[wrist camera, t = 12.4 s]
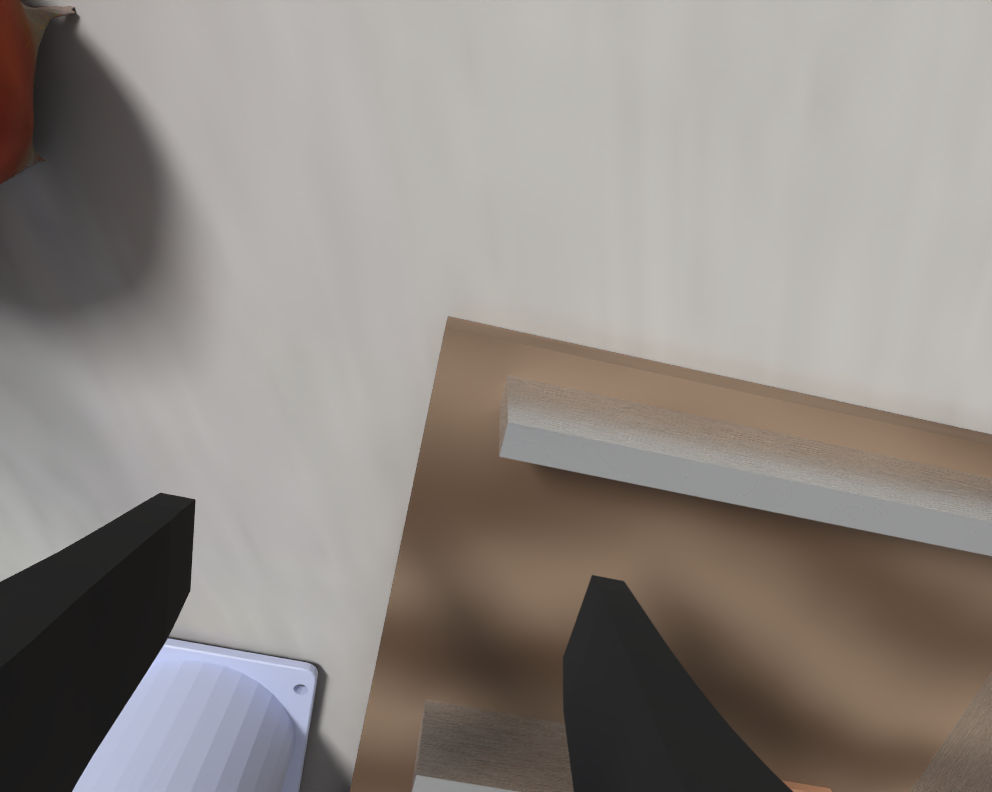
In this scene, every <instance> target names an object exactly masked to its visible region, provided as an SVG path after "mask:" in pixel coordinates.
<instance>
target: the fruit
mask: <svg viewBox="0 0 992 792" xmlns="http://www.w3.org/2000/svg"><path fill="white" fill-rule="evenodd" d="M72 8H74V7H71V6H67V7H57V6H54V7H36V8H34V7H29V6H27V5H25V4H23V3H22V2H21V1H20V0H0V184H1V183H3V182H5V181H6V180H8V179H10V178H12V177H14V176H15V175H17V174H18V173H20V172H22V171H23V170H24V169H26V168H27V167H30V166H32V165H34V164H35V163H36V162H38V161H45V160H44V159H42V158H41V157H40V156H39V155H38V154H37V153H36V151H35V149H34V148H33V129H34V109H33V87H34V75H35V67H36V61H37V54H38V48H39V45H40V43H41V40H42V38H43V35H44V32H45V30H46V27H47V25H48V23H49V21H50V19H51V18H55V17H59V16H64V15H69V14H74V13H75V12H74V11H73V10H72Z"/></svg>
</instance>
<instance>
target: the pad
mask: <svg viewBox="0 0 992 792" xmlns="http://www.w3.org/2000/svg"><path fill="white" fill-rule="evenodd" d="M781 781H782V780H781ZM782 782H784V783H785V784H786V785H787V786H788V787H789V788H790V789H791V790H792V791H793V792H832V791H831V789H830V788H824V787H818V786H812V785H806V784H800V783H794V782H788V781H782Z"/></svg>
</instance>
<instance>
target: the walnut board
mask: <svg viewBox="0 0 992 792" xmlns="http://www.w3.org/2000/svg"><path fill="white" fill-rule="evenodd" d="M507 375H510V376H515V377H520V378H524V379H529V380H534V381H538V382H543V383H548V384H552V385H557V386H562V387H567V388H571V389H576V390H581V391H585V392H590V393H595V394H600V395H604V396H609V397H614V398H618V399H623V400H628V401H633V402H637V403H642V404H647V405H651V406H656V407H661V408H666V409H670V410H675V411H680V412H684V413H689V414H694V415H699V416H703V417H708V418H713V419H717V420H722V421H727V422H732V423H736V424H741V425H746V426H750V427H755V428H760V429H765V430H769V431H774V432H779V433H783V434H788V435H793V436H797V437H802V438H807V439H812V440H816V441H821V442H826V443H830V444H835V445H840V446H845V447H849V448H854V449H859V450H863V451H868V452H873V453H878V454H882V455H887V456H892V457H896V458H901V459H906V460H911V461H915V462H920V463H925V464H929V465H934V466H939V467H944V468H948V469H953V470H958V471H962V472H967V473H972V474H977V475H981V476H986V477H991V478H992V435H991V434H986V433H981V432H977V431H972V430H968V429H963V428H958V427H954V426H949V425H945V424H940V423H935V422H931V421H926V420H922V419H917V418H913V417H908V416H903V415H899V414H894V413H890V412H885V411H880V410H876V409H871V408H867V407H862V406H857V405H853V404H848V403H844V402H839V401H834V400H830V399H825V398H821V397H816V396H811V395H807V394H802V393H798V392H793V391H788V390H784V389H779V388H775V387H770V386H766V385H761V384H756V383H752V382H747V381H743V380H738V379H733V378H729V377H724V376H720V375H715V374H710V373H706V372H701V371H697V370H692V369H687V368H683V367H678V366H674V365H669V364H664V363H660V362H655V361H651V360H646V359H642V358H637V357H632V356H628V355H623V354H619V353H614V352H609V351H605V350H600V349H596V348H591V347H586V346H582V345H577V344H573V343H568V342H563V341H559V340H554V339H550V338H545V337H540V336H536V335H531V334H527V333H522V332H518V331H513V330H508V329H504V328H499V327H495V326H490V325H485V324H481V323H476V322H472V321H467V320H462V319H458V318H453V317H449V316H448V318H447V323H446V327H445V332H444V337H443V342H442V346H441V351H440V356H439V361H438V366H437V371H436V376H435V380H434V385H433V390H432V395H431V400H430V405H429V409H428V414H427V419H426V424H425V429H424V434H423V439H422V443H421V448H420V453H419V458H418V463H417V468H416V473H415V477H414V482H413V487H412V492H411V497H410V502H409V507H408V511H407V516H406V521H405V526H404V531H403V536H402V540H401V545H400V550H399V555H398V560H397V565H396V570H395V574H394V579H393V584H392V589H391V594H390V599H389V604H388V608H387V613H386V618H385V623H384V628H383V633H382V637H381V642H380V647H379V652H378V657H377V662H376V667H375V671H374V676H373V681H372V686H371V691H370V696H369V701H368V705H367V710H366V715H365V720H364V725H363V730H362V735H361V739H360V744H359V749H358V754H357V759H356V764H355V768H354V773H353V778H352V783H351V788H350V792H411V791H412V783H413V775H414V768H415V760H416V752H417V744H418V736H419V729H420V721H421V716H422V712H423V708H424V704H425V700H430V701H435V702H441V703H447V704H453V705H459V706H465V707H470V708H476V709H482V710H488V711H494V712H500V713H505V714H511V715H517V716H523V717H529V718H535V719H540V720H546V721H552V722H558V723H564V724H565V720H564V712H563V656H564V653H565V650H566V648H567V645H568V642H569V639H570V636H571V633H572V630H573V628H574V625H575V622H576V619H577V616H578V613H579V611H580V608H581V605H582V602H583V599H584V596H585V593H586V591H587V588H588V585H589V582H590V579H591V576H592V575H595V576H600V577H606V578H611V579H616V580H621V581H624V582H625V583H626V585H627V586H628V587H629V589H630V590H631V592H632V593H633V595H634V596H635V598H636V599H637V601H638V602H639V604H640V605H641V607H642V608H643V610H644V611H645V613H646V614H647V616H648V617H649V619H650V620H651V622H652V623H653V625H654V626H655V628H656V629H657V631H658V632H659V634H660V635H661V637H662V638H663V639H664V641H665V642H666V644H667V645H668V647H669V648H670V649H671V651H672V652H673V654H674V655H675V656H676V658H677V659H678V661H679V662H680V663H681V665H682V666H683V668H684V669H685V670H686V672H687V673H688V674H689V676H690V677H691V678H692V680H693V681H694V682H695V683H696V685H697V686H698V687H699V689H700V690H701V691H702V692H703V694H704V695H705V696H706V697H707V699H708V700H709V701H710V702H711V704H712V705H713V706H714V707H715V709H716V710H717V711H718V712H719V714H720V715H721V716H722V717H723V718H724V719H725V721H726V722H727V723H728V724H729V725H730V726H731V728H732V729H733V730H734V731H735V732H736V733H737V734H738V735H739V737H740V738H741V739H742V740H743V741H744V742H745V743H746V744H747V745H748V746H749V747H750V748H751V749H752V751H753V752H754V753H755V754H756V755H757V756H758V757H759V758H760V759H761V760H762V761H763V762H764V763H765V764H766V765H767V767H768V768H769V769H770V770H771V771H772V772H773V773H774V774H775V775H776V776H777V777H778V778H779V779H780V780H782V781H788V782H794V783H800V784H806V785H812V786H818V787H824V788H830V789H831V791H832V792H909V791H910V790H911V789H912V787H913V786H914V784H915V783H916V781H917V780H918V778H919V777H920V776H921V774H922V773H923V771H924V770H925V768H926V767H927V765H928V764H929V763H930V761H931V760H932V758H933V757H934V755H935V754H936V752H937V751H938V750H939V748H940V747H941V745H942V744H943V742H944V741H945V739H946V738H947V737H948V735H949V734H950V732H951V731H952V729H953V728H954V726H955V725H956V724H957V722H958V721H959V719H960V718H961V716H962V715H963V713H964V712H965V711H966V709H967V708H968V706H969V705H970V703H971V702H972V701H973V699H974V698H975V696H976V695H977V693H978V692H979V690H980V689H981V688H982V686H983V685H984V683H985V682H986V680H987V679H988V677H989V676H990V675H991V673H992V556H988V555H983V554H978V553H973V552H968V551H964V550H959V549H954V548H949V547H944V546H939V545H934V544H929V543H924V542H919V541H914V540H909V539H904V538H899V537H894V536H889V535H884V534H879V533H875V532H870V531H865V530H860V529H855V528H850V527H845V526H840V525H835V524H830V523H825V522H820V521H815V520H810V519H805V518H800V517H795V516H791V515H786V514H781V513H776V512H771V511H766V510H761V509H756V508H751V507H746V506H741V505H736V504H731V503H726V502H721V501H716V500H711V499H706V498H702V497H697V496H692V495H687V494H682V493H677V492H672V491H667V490H662V489H657V488H652V487H647V486H642V485H637V484H632V483H627V482H622V481H617V480H613V479H608V478H603V477H598V476H593V475H588V474H583V473H578V472H573V471H568V470H563V469H558V468H553V467H548V466H543V465H538V464H533V463H528V462H524V461H519V460H514V459H509V458H504V457H499V424H500V403H501V399H502V395H503V391H504V387H505V383H506V379H507Z"/></svg>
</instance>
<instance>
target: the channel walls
mask: <svg viewBox="0 0 992 792" xmlns="http://www.w3.org/2000/svg"><path fill="white" fill-rule="evenodd" d="M499 457H504V458H509V459H514V460H519V461H524V462H528V463H533V464H538V465H543V466H548V467H553V468H558V469H563V470H568V471H573V472H578V473H583V474H588V475H593V476H598V477H603V478H608V479H613V480H617V481H622V482H627V483H632V484H637V485H642V486H647V487H652V488H657V489H662V490H667V491H672V492H677V493H682V494H687V495H692V496H697V497H702V498H706V499H711V500H716V501H721V502H726V503H731V504H736V505H741V506H746V507H751V508H756V509H761V510H766V511H771V512H776V513H781V514H786V515H791V516H795V517H800V518H805V519H810V520H815V521H820V522H825V523H830V524H835V525H840V526H845V527H850V528H855V529H860V530H865V531H870V532H875V533H879V534H884V535H889V536H894V537H899V538H904V539H909V540H914V541H919V542H924V543H929V544H934V545H939V546H944V547H949V548H954V549H959V550H964V551H968V552H973V553H978V554H983V555H988V556H992V478H991V477H986V476H981V475H977V474H972V473H967V472H962V471H958V470H953V469H948V468H944V467H939V466H934V465H929V464H925V463H920V462H915V461H911V460H906V459H901V458H896V457H892V456H887V455H882V454H878V453H873V452H868V451H863V450H859V449H854V448H849V447H845V446H840V445H835V444H830V443H826V442H821V441H816V440H812V439H807V438H802V437H797V436H793V435H788V434H783V433H779V432H774V431H769V430H765V429H760V428H755V427H750V426H746V425H741V424H736V423H732V422H727V421H722V420H717V419H713V418H708V417H703V416H699V415H694V414H689V413H684V412H680V411H675V410H670V409H666V408H661V407H656V406H651V405H647V404H642V403H637V402H633V401H628V400H623V399H618V398H614V397H609V396H604V395H600V394H595V393H590V392H585V391H581V390H576V389H571V388H567V387H562V386H557V385H552V384H548V383H543V382H538V381H534V380H529V379H524V378H520V377H515V376H510V375H507V379H506V383H505V387H504V391H503V395H502V399H501V403H500V424H499ZM411 792H574V789H573V782H572V774H571V767H570V760H569V752H568V744H567V736H566V729H565V724H564V723H558V722H552V721H546V720H540V719H535V718H529V717H523V716H517V715H511V714H505V713H500V712H494V711H488V710H482V709H476V708H470V707H465V706H459V705H453V704H447V703H441V702H435V701H430V700H425V704H424V708H423V712H422V716H421V721H420V729H419V736H418V744H417V752H416V760H415V768H414V775H413V783H412V791H411ZM909 792H992V673H991V675H990V676H989V677H988V679H987V680H986V682H985V683H984V685H983V686H982V688H981V689H980V690H979V692H978V693H977V695H976V696H975V698H974V699H973V701H972V702H971V703H970V705H969V706H968V708H967V709H966V711H965V712H964V713H963V715H962V716H961V718H960V719H959V721H958V722H957V724H956V725H955V726H954V728H953V729H952V731H951V732H950V734H949V735H948V737H947V738H946V739H945V741H944V742H943V744H942V745H941V747H940V748H939V750H938V751H937V752H936V754H935V755H934V757H933V758H932V760H931V761H930V763H929V764H928V765H927V767H926V768H925V770H924V771H923V773H922V774H921V776H920V777H919V778H918V780H917V781H916V783H915V784H914V786H913V787H912V789H911V790H910V791H909Z"/></svg>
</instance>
